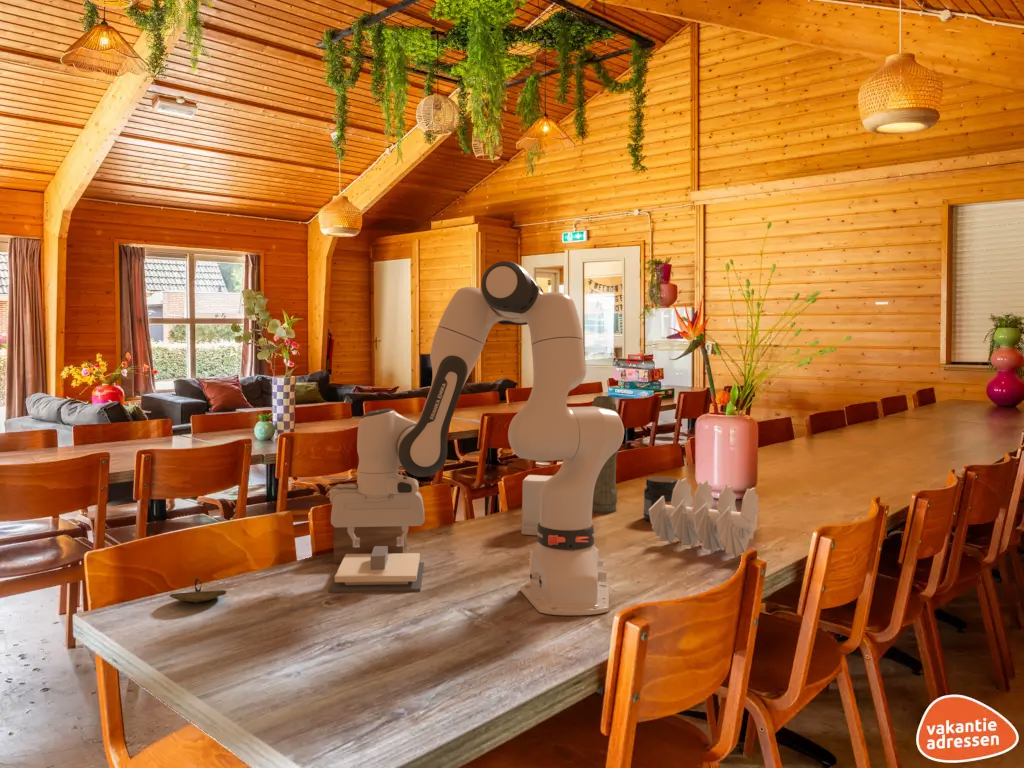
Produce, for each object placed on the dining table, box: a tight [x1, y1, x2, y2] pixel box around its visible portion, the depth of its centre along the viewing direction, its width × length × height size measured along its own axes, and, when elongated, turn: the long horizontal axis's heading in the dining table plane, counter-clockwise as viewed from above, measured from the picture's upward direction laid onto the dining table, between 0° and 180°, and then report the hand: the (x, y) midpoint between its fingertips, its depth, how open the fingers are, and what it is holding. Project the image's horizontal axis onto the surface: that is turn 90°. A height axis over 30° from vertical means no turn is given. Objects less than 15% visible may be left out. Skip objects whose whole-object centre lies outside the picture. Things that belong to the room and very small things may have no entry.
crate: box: [333, 526, 408, 565], centre depth 195 cm, size 16×16×9 cm
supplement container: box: [642, 476, 678, 523], centre depth 233 cm, size 10×10×12 cm
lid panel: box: [334, 546, 421, 585], centre depth 176 cm, size 17×17×5 cm
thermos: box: [591, 395, 622, 514], centre depth 244 cm, size 9×12×35 cm
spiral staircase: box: [649, 477, 760, 559], centre depth 201 cm, size 18×18×25 cm
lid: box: [169, 578, 227, 603], centre depth 158 cm, size 11×10×5 cm
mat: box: [328, 561, 425, 594], centre depth 176 cm, size 19×19×1 cm
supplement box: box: [521, 474, 554, 536], centre depth 217 cm, size 9×9×15 cm
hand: (378, 546), depth 175 cm, fingers open, 8 cm apart
